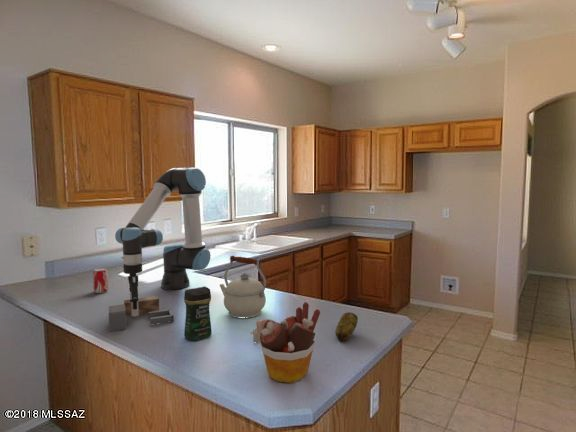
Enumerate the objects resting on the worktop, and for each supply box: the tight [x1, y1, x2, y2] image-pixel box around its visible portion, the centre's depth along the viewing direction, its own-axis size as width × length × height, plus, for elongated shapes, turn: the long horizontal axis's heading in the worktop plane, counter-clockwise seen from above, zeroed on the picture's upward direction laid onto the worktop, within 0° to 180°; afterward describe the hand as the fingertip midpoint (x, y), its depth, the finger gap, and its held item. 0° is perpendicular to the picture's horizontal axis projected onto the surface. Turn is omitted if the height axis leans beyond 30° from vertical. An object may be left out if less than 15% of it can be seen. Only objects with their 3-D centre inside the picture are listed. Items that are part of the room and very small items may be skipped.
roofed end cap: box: [108, 303, 127, 332], centre depth 150 cm, size 6×9×7 cm
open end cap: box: [147, 308, 175, 325], centre depth 157 cm, size 9×9×2 cm
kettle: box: [219, 255, 267, 319], centre depth 165 cm, size 25×18×25 cm
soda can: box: [92, 267, 109, 294], centre depth 196 cm, size 7×7×12 cm
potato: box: [334, 311, 358, 342], centre depth 140 cm, size 8×13×8 cm, turn 136°
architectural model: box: [250, 326, 260, 344], centre depth 137 cm, size 3×7×7 cm, turn 140°
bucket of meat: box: [255, 301, 321, 384], centre depth 112 cm, size 20×16×20 cm
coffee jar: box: [183, 285, 213, 342], centre depth 139 cm, size 10×8×19 cm
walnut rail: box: [123, 295, 160, 317], centre depth 166 cm, size 14×4×6 cm, turn 116°
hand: (134, 311), depth 164 cm, fingers open, 13 cm apart
